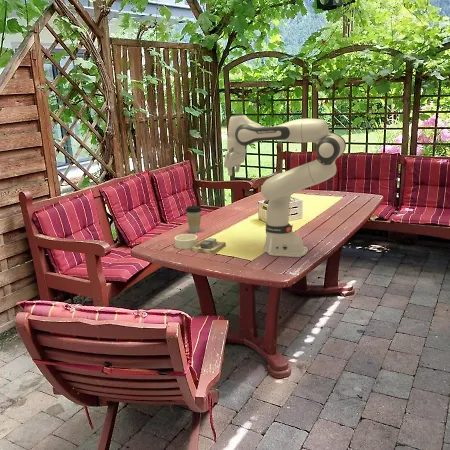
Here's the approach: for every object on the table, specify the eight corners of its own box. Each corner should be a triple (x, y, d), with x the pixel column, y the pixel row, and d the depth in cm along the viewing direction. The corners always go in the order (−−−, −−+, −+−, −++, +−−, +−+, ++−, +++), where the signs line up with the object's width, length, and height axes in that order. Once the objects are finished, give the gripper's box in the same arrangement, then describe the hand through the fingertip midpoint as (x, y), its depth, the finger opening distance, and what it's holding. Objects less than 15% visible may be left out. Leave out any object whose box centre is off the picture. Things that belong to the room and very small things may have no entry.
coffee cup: (188, 235, 273) (187, 209, 269) (185, 230, 282) (183, 206, 277) (204, 233, 275) (203, 208, 271) (200, 228, 284) (199, 204, 280)
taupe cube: (216, 245, 250) (216, 238, 249) (213, 248, 246) (212, 241, 245) (209, 245, 252) (209, 237, 250) (206, 247, 248) (205, 240, 247)
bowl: (201, 245, 255) (201, 235, 253) (190, 252, 245) (190, 242, 243) (182, 242, 260) (182, 232, 259) (170, 249, 250) (170, 239, 248)
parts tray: (225, 247, 250) (225, 242, 249) (213, 256, 238) (213, 250, 237) (204, 244, 255) (204, 239, 255) (191, 252, 243) (190, 247, 243)
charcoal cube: (211, 249, 245) (210, 242, 244) (207, 251, 241) (207, 244, 240) (204, 248, 246) (204, 241, 245) (200, 250, 243) (200, 243, 242)
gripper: (233, 150, 229) (231, 178, 233) (248, 145, 247) (246, 171, 251) (221, 148, 231) (220, 176, 235) (237, 143, 249) (235, 169, 253)
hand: (233, 173), depth 243 cm, fingers open, 8 cm apart
